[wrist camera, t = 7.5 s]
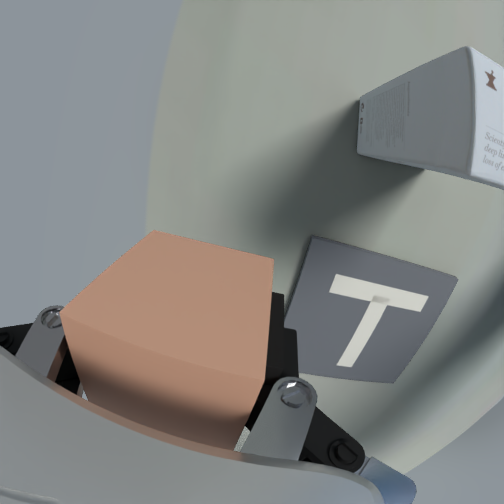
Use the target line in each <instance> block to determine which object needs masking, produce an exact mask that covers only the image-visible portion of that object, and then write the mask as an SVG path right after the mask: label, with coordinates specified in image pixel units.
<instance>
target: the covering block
mask: <svg viewBox="0 0 504 504" xmlns="http://www.w3.org/2000/svg"><path fill="white" fill-rule="evenodd" d="M273 267H274V259H272V258H268V257H264V256H260V255H255V254H251V253H247V252H243V251H239V250H235V249H230V248H226V247H222V246H218V245H214V244H210V243H205V242H201V241H197V240H193V239H189V238H185V237H181V236H176V235H172V234H168V233H164V232H160V231H156V230H153V231H152V232H151V233H149V234H148V235H147V236H146V237H144V238H143V239H142V240H141V241H139V242H138V243H137V244H136V245H134V246H133V247H132V248H131V249H130V250H129V251H127V252H126V253H125V254H124V255H122V256H121V257H120V258H119V259H118V260H116V261H115V262H114V263H113V264H112V265H111V266H109V267H108V268H107V269H106V270H105V271H104V272H102V273H101V274H100V275H99V276H98V277H97V278H96V279H95V280H94V281H92V282H91V283H90V284H89V285H88V286H87V287H86V288H85V289H84V290H82V291H81V292H80V293H79V294H78V295H77V296H76V297H75V298H74V299H73V300H72V301H71V302H70V303H69V304H67V305H66V306H65V307H64V308H63V309H62V310H61V311H60V312H59V314H60V318H61V322H62V326H63V329H64V333H65V336H66V340H67V343H68V347H69V350H70V353H71V356H72V359H73V362H74V365H75V368H76V371H77V373H78V376H79V379H80V381H81V384H82V387H83V389H84V391H85V394H86V396H87V398H88V401H89V402H91V403H93V404H95V405H97V406H99V407H101V408H103V409H105V410H108V411H110V412H112V413H114V414H117V415H119V416H121V417H124V418H126V419H128V420H131V421H133V422H136V423H139V424H141V425H144V426H147V427H149V428H152V429H155V430H158V431H161V432H164V433H167V434H170V435H173V436H176V437H180V438H183V439H186V440H190V441H194V442H197V443H201V444H205V445H209V446H213V447H218V448H222V449H227V450H232V451H233V450H234V448H235V446H236V444H237V442H238V439H239V437H240V435H241V433H242V431H243V429H244V426H245V424H246V422H247V420H248V418H249V415H250V413H251V411H252V409H253V406H254V404H255V402H256V399H257V397H258V395H259V392H260V390H261V388H262V385H263V383H264V381H265V371H266V359H267V347H268V335H269V323H270V310H271V296H272V282H273Z"/></svg>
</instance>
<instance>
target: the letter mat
mask: <svg viewBox="0 0 504 504" xmlns="http://www.w3.org/2000/svg"><path fill="white" fill-rule="evenodd" d="M457 282H458V279H457V278H456V277H455V276H452V275H449V274H446V273H443V272H440V271H437V270H433V269H430V268H427V267H424V266H420V265H417V264H414V263H410V262H407V261H404V260H400V259H397V258H393V257H390V256H387V255H383V254H380V253H376V252H373V251H369V250H365V249H362V248H358V247H355V246H351V245H347V244H344V243H340V242H336V241H333V240H329V239H325V238H321V237H318V236H314V235H312V237H311V240H310V244H309V247H308V250H307V253H306V256H305V259H304V262H303V265H302V268H301V271H300V274H299V277H298V280H297V283H296V286H295V289H294V292H293V295H292V298H291V301H290V304H289V306H288V309H287V312H286V315H285V318H284V327H285V328H290V329H295V330H296V331H297V346H298V370H299V373H305V374H311V375H318V376H325V377H332V378H340V379H349V380H358V381H369V382H382V383H394V382H395V381H396V379H397V378H398V377H399V375H400V374H401V373H402V371H403V370H404V369H405V367H406V366H407V365H408V363H409V362H410V360H411V359H412V358H413V356H414V355H415V353H416V352H417V350H418V349H419V347H420V346H421V344H422V343H423V341H424V340H425V338H426V337H427V335H428V334H429V332H430V330H431V329H432V327H433V325H434V324H435V322H436V320H437V319H438V317H439V315H440V314H441V312H442V310H443V308H444V307H445V305H446V303H447V301H448V299H449V297H450V295H451V293H452V292H453V290H454V288H455V286H456V284H457Z"/></svg>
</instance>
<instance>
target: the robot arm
mask: <svg viewBox="0 0 504 504" xmlns="http://www.w3.org/2000/svg"><path fill="white" fill-rule="evenodd" d="M63 308H64V307H63V306H50V307H48V308H45V309H44V310H42V311H41V312H40V313H39V315H38V316H37V318H36V320H35V321H34V323H30V324H24V325H16V326H10V327H3V328H0V504H412V502H413V500H414V498H415V495H416V485H415V483H414V482H413V481H412V480H411V479H410V478H408V477H407V476H405V475H403V474H401V473H399V472H398V471H396V470H394V469H392V468H391V467H389V466H387V465H386V464H384V463H382V462H380V461H379V460H377V459H376V458H374V457H371V458H368V457H366V456H365V452H364V450H363V448H362V446H361V445H360V444H359V443H358V442H357V441H356V440H355V439H354V438H353V437H351V436H350V435H349V434H348V433H346V432H345V431H344V430H343V429H342V428H340V427H339V426H338V425H337V424H336V423H334V422H333V421H332V420H331V419H330V418H329V417H327V416H326V415H325V414H324V413H323V412H322V411H320V410H319V409H318V408H317V407H316V403H317V394H316V391H315V389H314V388H313V386H312V385H311V384H309V383H308V382H307V381H305V380H303V379H301V378H299V370H298V346H297V331H296V330H295V329H290V328H285V327H284V294H279V293H275V292H272V296H271V310H270V323H269V335H268V347H267V359H266V371H265V381H264V383H263V385H262V388H261V390H260V392H259V395H258V397H257V399H256V402H255V404H254V406H253V409H252V411H251V413H250V415H249V418H248V420H247V422H246V424H245V426H246V427H247V428H248V430H249V431H250V434H249V436H248V438H247V440H246V442H245V443H244V445H243V447H242V449H241V451H240V452H237V451H232V450H227V449H222V448H218V447H213V446H209V445H205V444H201V443H197V442H194V441H190V440H186V439H183V438H180V437H176V436H173V435H170V434H167V433H164V432H161V431H158V430H155V429H152V428H149V427H147V426H144V425H141V424H139V423H136V422H133V421H131V420H128V419H126V418H124V417H121V416H119V415H117V414H114V413H112V412H110V411H108V410H105V409H103V408H101V407H99V406H97V405H95V404H93V403H91V402H89V401H87V400H85V399H83V398H82V394H83V390H84V389H83V387H82V384H81V381H80V379H79V376H78V373H77V371H76V368H75V365H74V362H73V359H72V356H71V353H70V350H69V347H68V343H67V340H66V336H65V333H64V329H63V326H62V322H61V318H60V314H59V312H60V311H61V310H62V309H63Z"/></svg>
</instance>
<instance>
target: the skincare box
mask: <svg viewBox="0 0 504 504" xmlns="http://www.w3.org/2000/svg"><path fill="white" fill-rule="evenodd" d="M357 153H358V154H360V155H364V156H368V157H372V158H376V159H380V160H385V161H389V162H394V163H399V164H404V165H408V166H413V167H418V168H423V169H427V170H432V171H436V172H441V173H445V174H449V175H453V176H457V177H461V178H464V179H468V180H472V181H476V182H479V183H483V184H486V185H490V186H493V187H496V188H499V189H502V190H504V68H503V67H502V66H500V65H499V64H497V63H496V62H494V61H493V60H491V59H490V58H488V57H487V56H485V55H483V54H482V53H480V52H478V51H477V50H475V49H473V48H472V47H469V46H465V47H462V48H459V49H457V50H455V51H452V52H450V53H448V54H445V55H443V56H441V57H438V58H436V59H434V60H432V61H430V62H428V63H425V64H423V65H421V66H419V67H417V68H415V69H413V70H411V71H409V72H407V73H405V74H403V75H401V76H399V77H397V78H395V79H393V80H391V81H389V82H387V83H385V84H383V85H381V86H379V87H378V88H376V89H374V90H372V91H370V92H368V93H366V94H365V95H363V96H361V97H360V107H359V125H358V139H357Z"/></svg>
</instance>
